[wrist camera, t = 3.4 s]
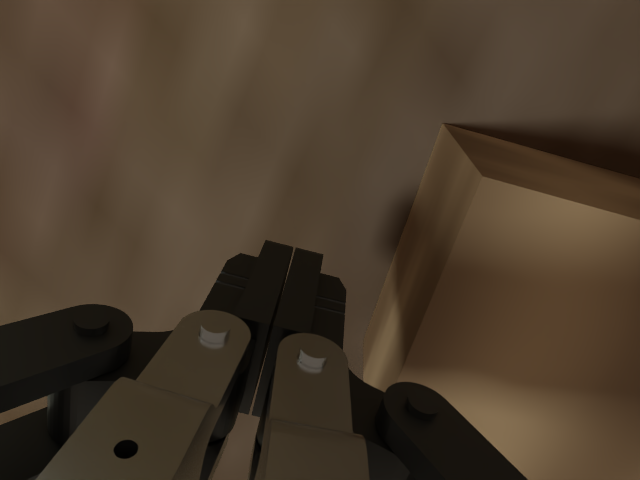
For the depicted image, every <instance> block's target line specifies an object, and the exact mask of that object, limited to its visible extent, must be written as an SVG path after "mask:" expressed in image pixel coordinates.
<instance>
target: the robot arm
mask: <svg viewBox="0 0 640 480" xmlns="http://www.w3.org/2000/svg"><path fill="white" fill-rule="evenodd" d="M292 252H293V247H292V246H288V245H284V244H280V243H276V242H272V241H268V240H266V241H265V243H264V245H263V247H262V250H261V252H260V254H259V257H254V256H250V255H246V254H242V253H240V254H238V255H236V256H235V257H233V258H231V259H229V260H227V262H226V264H225V266H224V267H223V269H222V271H221V274H220V275H219V276H218V278H217V280H216V283H215V284H214V285H213V287H212V289H211V291H210V293H209V295H208V296H207V298H206V300H205V302H204V304H203V305H202V307H201V309H200V311H197V312H193V313H191V314H189V315H187V316H185V317H184V318H183V319H182V320H181V321H180V322H179V324H178V325H177V326H176V328H175V329H174V330H172V331H166V332H133V323H132V321H131V319H130V317H129V316H128V315H127V314H125V313H124V312H123V311H121V310H119V309H117V308H114V307H111V306H106V305H99V304H86V305H79V306H74V307H70V308H67V309H63V310H59V311H55V312H51V313H48V314H44V315H40V316H36V317H32V318H29V319H25V320H21V321H17V322H13V323H10V324H6V325H2V326H0V413H2V412H5V411H7V410H10V409H13V408H15V407H18V406H21V405H23V404H26V403H29V402H31V401H34V400H37V399H39V398H42V397H45V396H47V395H48V407H46V408H43V409H40V410H38V411H35V412H33V413H30V414H28V415H25V416H23V417H20V418H17V419H15V420H12V421H10V422H7V423H5V424H2V425H0V480H212V478H213V475H214V473H215V470H216V468H217V466H218V463H219V461H220V459H221V456H222V454H223V451H224V449H225V447H226V444H227V441H228V437H229V432H230V431H231V430H232V429H233V427H234V424H235V421H236V418H237V415H238V412H240V413H244V414H249V411H250V407H251V404H252V400H253V397H254V393H255V390H256V386H257V383H258V379H259V376H260V372H261V369H262V365H263V362H264V358H265V355H266V358H265V362H264V366H263V370H262V374H261V378H260V383H259V387H258V391H257V395H256V399H255V403H254V407H253V411H252V415H253V416H258V417H260V421H259V425H258V429H257V433H256V437H255V441H254V445H253V449H252V454H251V460H250V466H249V473H248V479H247V480H528V479H527V478H526V477H525V476H524V475H523V474H522V473H521V472H520V471H519V470H518V469H517V468H516V467H515V466H514V465H513V464H512V463H511V462H509V461H508V460H507V459H506V458H505V457H504V456H503V455H502V454H501V453H500V452H499V451H498V450H497V449H496V448H495V447H494V446H493V445H492V444H491V443H490V442H489V441H488V440H487V439H486V438H485V437H484V436H483V435H482V434H481V433H480V432H479V431H478V430H477V429H476V428H475V427H474V426H473V425H472V424H471V423H470V422H469V421H468V420H467V419H466V418H465V417H464V416H463V415H461V414H460V413H459V412H458V411H457V410H456V409H455V408H454V407H453V406H452V405H451V404H450V403H449V402H448V401H447V400H446V399H445V398H444V397H443V396H442V395H440V394H439V393H437V392H436V391H434V390H433V389H431V388H429V387H426V386H424V385H421V384H418V383H413V382H398V383H395V384H392V385H391V386H389V387H388V388H387V389H386V391H385V392H383V391H381V390H379V389H377V388H375V387H373V386H371V385H369V384H367V383H365V382H364V381H362V380H361V379H359V378H358V377H357V376H356V375H354V374H353V373H352V372H351V370H350V369H349V368H348V360H347V357H346V355H345V353H344V352H343V336H344V320H345V315H344V314H345V303H346V289H345V287H344V286H343V284H342V282H341V281H340V279H339V278H337V277H334V276H330V275H326V274H322V273H320V271H321V265H322V259H323V254H320V253H316V252H312V251H308V250H304V249H300V248H296V249H295V252H294V256H293V259H292V263H291V266H290V270H289V273H288V276H287V272H288V268H289V264H290V260H291V256H292ZM286 276H287V280H286ZM285 280H286V283H285ZM284 284H285V287H284ZM283 289H284V290H283ZM282 293H283V294H282ZM267 348H268V350H267ZM266 352H267V354H266Z"/></svg>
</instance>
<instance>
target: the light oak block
mask: <svg viewBox="0 0 640 480" xmlns="http://www.w3.org/2000/svg"><path fill="white" fill-rule="evenodd" d="M363 381H364V382H365V383H367V384H369V385H371V386H373V387H375V388H377V389H379V390H381V391H383V392H385V391H386V389H387V388H388V387H389V386H391V385H392V384H395V383H398V382H413V383H418V384H421V385H424V386H426V387H429V388H431V389H433V390H434V391H436V392H437V393H439V394H440V395H442V396H443V397H444V398H445V399H446V400H447V401H448V402H449V403H450V404H451V405H452V406H453V407H454V408H455V409H456V410H457V411H458V412H459V413H460V414H461V415H463V416H464V417H465V418H466V419H467V420H468V421H469V422H470V423H471V424H472V425H473V426H474V427H475V428H476V429H477V430H478V431H479V432H480V433H481V434H482V435H483V436H484V437H485V438H486V439H487V440H488V441H489V442H490V443H491V444H492V445H493V446H494V447H495V448H496V449H497V450H498V451H499V452H500V453H501V454H502V455H503V456H504V457H505V458H506V459H507V460H508V461H509V462H511V463H512V464H513V465H514V466H515V467H516V468H517V469H518V470H519V471H520V472H521V473H522V474H523V475H524V476H525V477H526V478H527V479H528V480H640V179H639V178H636V177H632V176H629V175H625V174H622V173H618V172H614V171H611V170H607V169H604V168H600V167H597V166H593V165H590V164H586V163H583V162H579V161H575V160H572V159H568V158H565V157H561V156H558V155H554V154H551V153H547V152H543V151H540V150H536V149H533V148H529V147H526V146H522V145H519V144H515V143H512V142H508V141H504V140H501V139H497V138H494V137H490V136H487V135H483V134H480V133H476V132H472V131H469V130H465V129H462V128H458V127H455V126H451V125H448V124H444V123H442V126H441V129H440V131H439V134H438V137H437V140H436V142H435V145H434V148H433V150H432V153H431V156H430V159H429V161H428V164H427V167H426V170H425V172H424V175H423V178H422V181H421V183H420V186H419V189H418V192H417V194H416V197H415V200H414V203H413V205H412V208H411V211H410V214H409V216H408V219H407V222H406V225H405V227H404V230H403V233H402V236H401V238H400V241H399V244H398V247H397V249H396V252H395V255H394V258H393V260H392V263H391V266H390V268H389V271H388V274H387V277H386V279H385V282H384V285H383V288H382V290H381V293H380V296H379V299H378V301H377V304H376V307H375V310H374V312H373V315H372V318H371V321H370V323H369V326H368V329H367V332H366V334H365V337H364V340H363Z"/></svg>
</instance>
